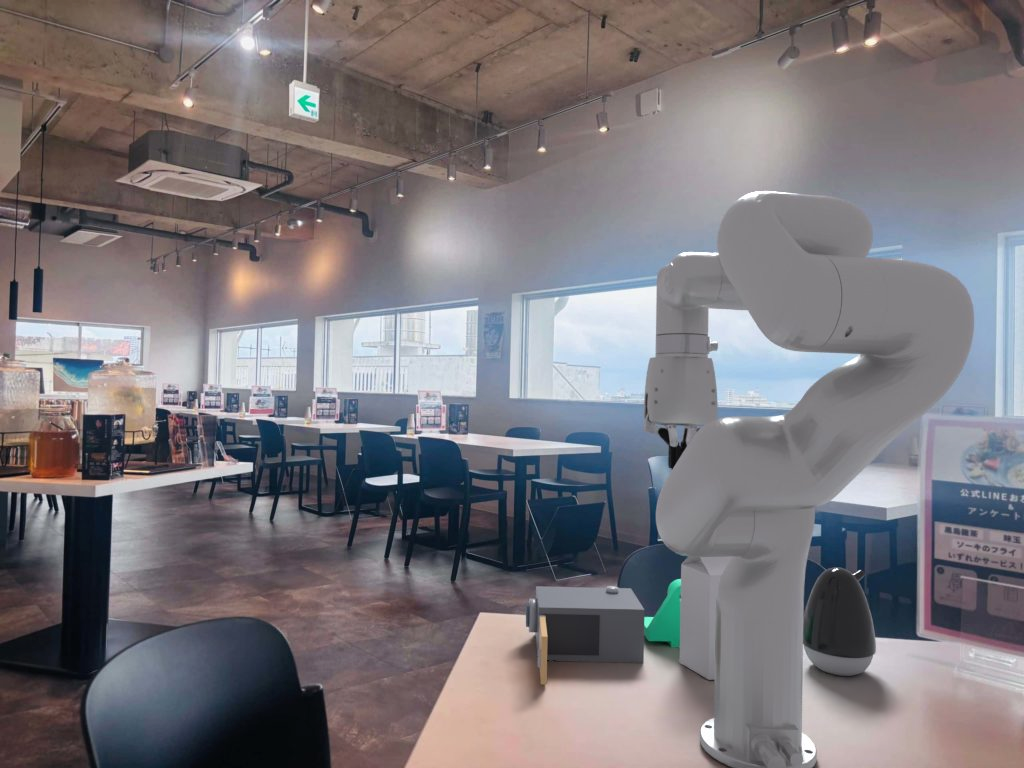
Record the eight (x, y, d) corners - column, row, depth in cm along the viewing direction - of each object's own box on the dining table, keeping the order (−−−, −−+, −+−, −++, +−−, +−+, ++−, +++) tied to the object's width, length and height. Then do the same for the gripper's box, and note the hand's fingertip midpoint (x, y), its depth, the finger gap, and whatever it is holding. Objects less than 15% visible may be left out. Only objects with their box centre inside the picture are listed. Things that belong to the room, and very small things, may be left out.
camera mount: (706, 632, 122) (707, 572, 122) (721, 648, 114) (722, 584, 114) (637, 632, 121) (638, 572, 121) (648, 647, 114) (649, 583, 114)
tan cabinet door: (537, 684, 96) (538, 636, 96) (535, 658, 106) (536, 614, 106) (547, 684, 96) (548, 636, 96) (544, 658, 106) (545, 614, 106)
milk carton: (749, 675, 102) (750, 544, 103) (708, 681, 100) (710, 547, 100) (717, 658, 109) (719, 535, 110) (679, 663, 106) (681, 537, 107)
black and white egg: (892, 676, 103) (893, 572, 103) (842, 687, 99) (843, 578, 99) (833, 653, 112) (834, 557, 113) (785, 662, 108) (787, 562, 108)
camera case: (643, 663, 106) (644, 605, 106) (526, 660, 106) (527, 602, 106) (630, 636, 118) (630, 584, 119) (524, 633, 118) (526, 581, 119)
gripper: (724, 351, 107) (722, 472, 107) (626, 349, 107) (624, 470, 107) (740, 348, 100) (738, 477, 99) (635, 345, 100) (633, 475, 99)
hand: (679, 473), depth 103 cm, fingers closed
